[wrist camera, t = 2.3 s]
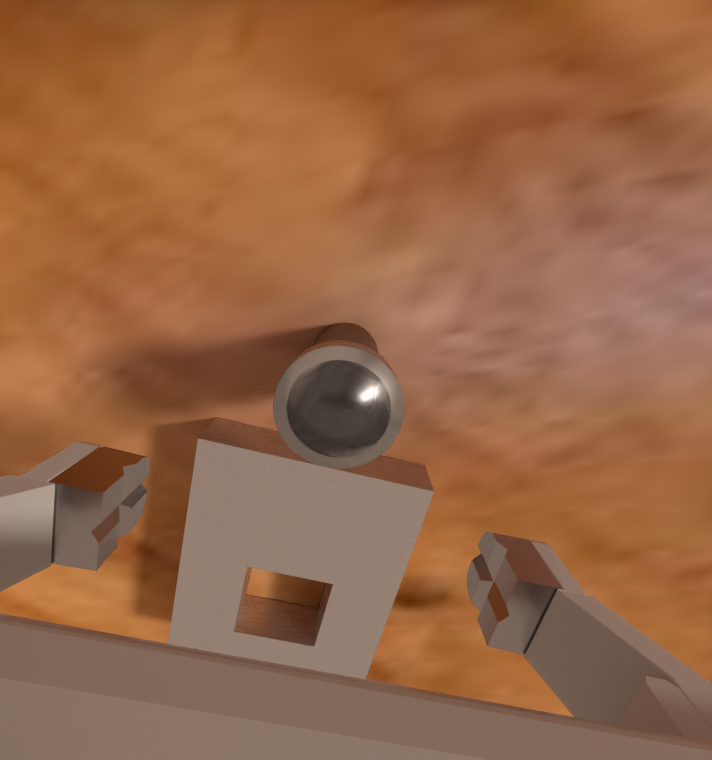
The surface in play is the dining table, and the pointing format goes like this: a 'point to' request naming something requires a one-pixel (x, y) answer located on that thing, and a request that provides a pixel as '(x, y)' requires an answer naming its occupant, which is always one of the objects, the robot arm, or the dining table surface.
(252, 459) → the jig
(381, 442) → the flashlight
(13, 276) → the dining table surface
